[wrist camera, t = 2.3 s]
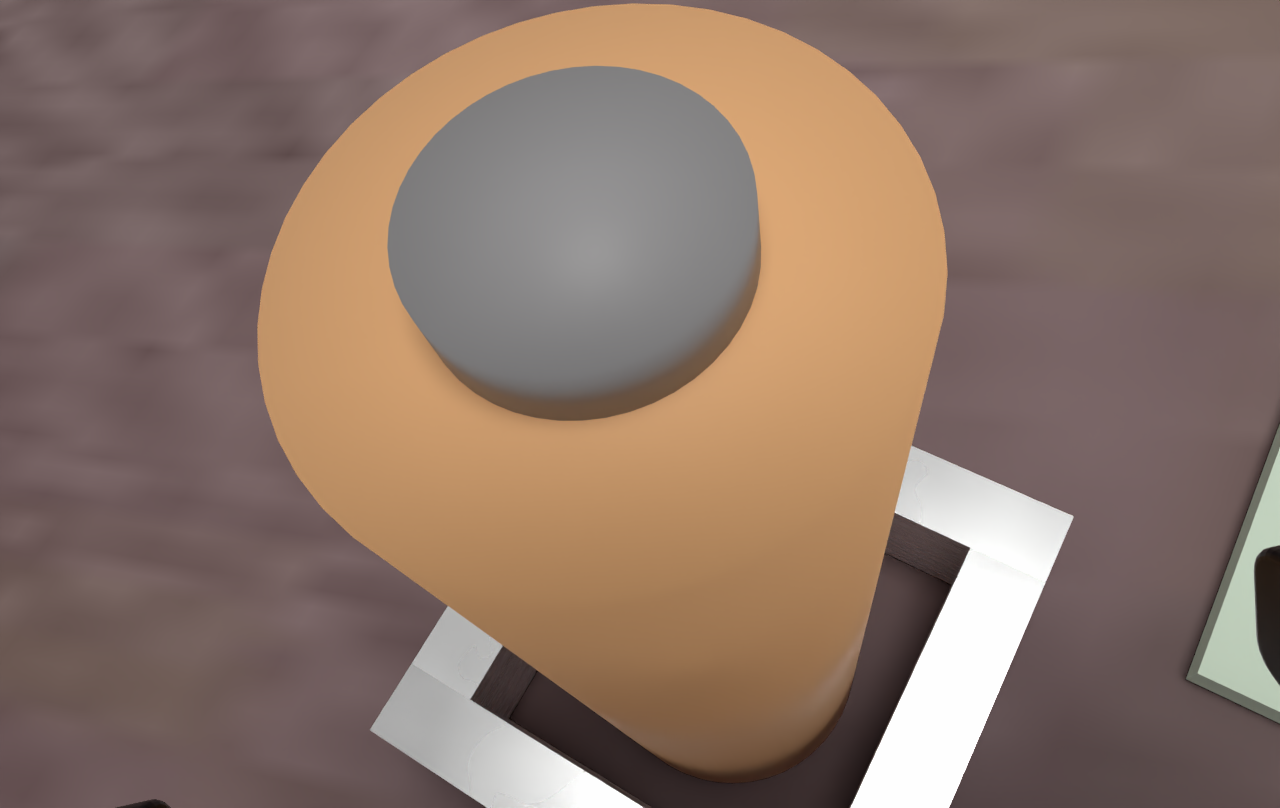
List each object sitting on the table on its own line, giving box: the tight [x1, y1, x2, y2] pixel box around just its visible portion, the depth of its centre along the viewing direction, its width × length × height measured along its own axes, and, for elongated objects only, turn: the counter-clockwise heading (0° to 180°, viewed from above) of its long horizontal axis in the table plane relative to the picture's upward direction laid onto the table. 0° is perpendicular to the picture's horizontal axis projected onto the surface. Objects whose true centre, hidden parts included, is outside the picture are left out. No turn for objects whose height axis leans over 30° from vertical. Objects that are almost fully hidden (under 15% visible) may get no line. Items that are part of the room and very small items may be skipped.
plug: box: [257, 4, 947, 783], centre depth 13 cm, size 5×5×15 cm
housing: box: [370, 446, 1074, 808], centre depth 18 cm, size 9×9×2 cm
